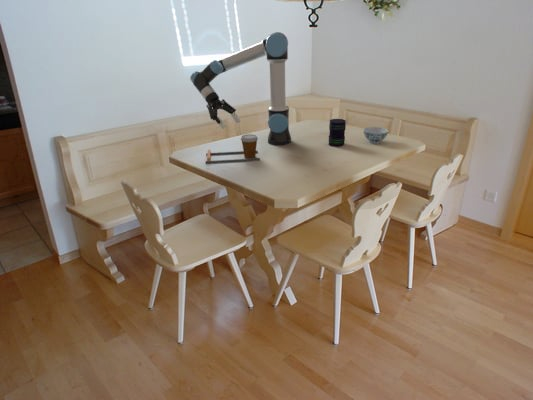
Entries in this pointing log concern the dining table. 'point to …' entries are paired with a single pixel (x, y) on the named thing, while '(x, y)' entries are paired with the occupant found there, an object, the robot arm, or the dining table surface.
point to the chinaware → (375, 134)
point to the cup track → (228, 160)
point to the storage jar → (337, 132)
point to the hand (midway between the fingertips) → (231, 124)
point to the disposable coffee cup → (249, 145)
